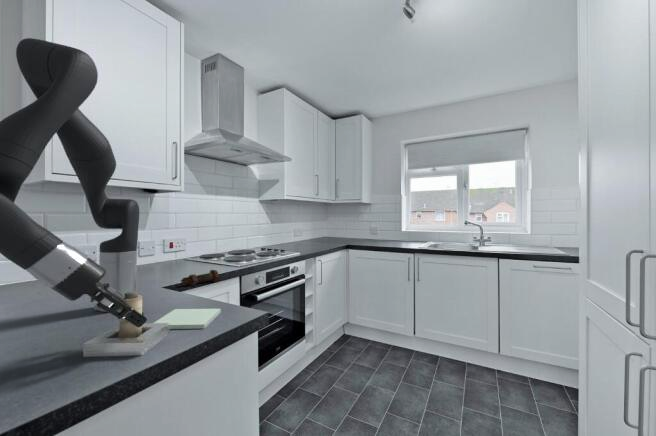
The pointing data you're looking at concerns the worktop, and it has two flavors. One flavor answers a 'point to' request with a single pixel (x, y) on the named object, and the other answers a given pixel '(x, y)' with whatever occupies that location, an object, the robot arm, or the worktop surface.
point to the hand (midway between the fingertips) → (141, 320)
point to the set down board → (189, 318)
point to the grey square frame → (126, 341)
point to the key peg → (125, 326)
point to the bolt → (200, 278)
